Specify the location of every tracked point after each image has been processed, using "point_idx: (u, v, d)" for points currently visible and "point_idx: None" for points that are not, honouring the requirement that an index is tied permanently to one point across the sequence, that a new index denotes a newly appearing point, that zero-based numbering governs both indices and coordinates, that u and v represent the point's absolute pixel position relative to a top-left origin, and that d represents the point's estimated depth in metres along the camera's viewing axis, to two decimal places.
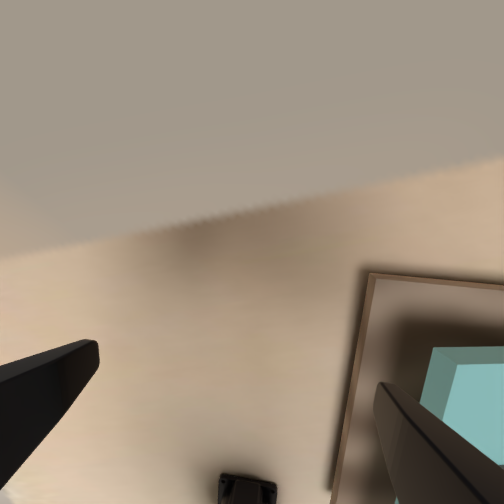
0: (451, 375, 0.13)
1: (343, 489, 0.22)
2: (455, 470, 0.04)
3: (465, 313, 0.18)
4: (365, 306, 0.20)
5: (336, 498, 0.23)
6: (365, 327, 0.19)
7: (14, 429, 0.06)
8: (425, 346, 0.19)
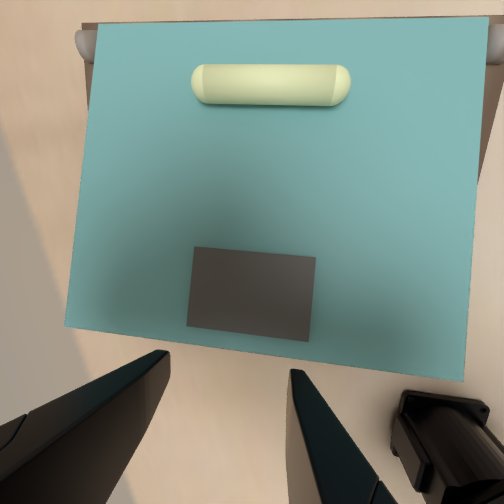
0: None
1: None
2: (307, 444, 0.05)
3: None
4: None
5: None
6: None
7: (112, 448, 0.05)
8: None
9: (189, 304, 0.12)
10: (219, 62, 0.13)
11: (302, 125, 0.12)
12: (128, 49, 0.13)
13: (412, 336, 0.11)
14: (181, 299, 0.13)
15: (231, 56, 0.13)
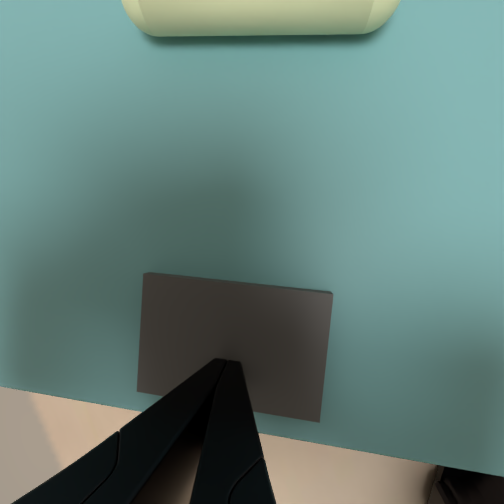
0: None
1: None
2: (209, 426, 0.05)
3: None
4: None
5: None
6: None
7: (193, 464, 0.05)
8: None
9: (139, 360, 0.08)
10: None
11: (313, 72, 0.07)
12: None
13: (482, 416, 0.07)
14: (130, 349, 0.09)
15: None
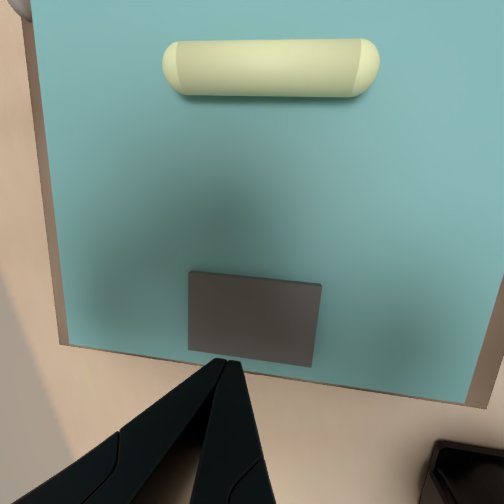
0: None
1: None
2: (209, 426, 0.05)
3: None
4: None
5: (416, 396, 0.13)
6: None
7: (193, 464, 0.05)
8: None
9: (188, 330, 0.12)
10: (199, 27, 0.09)
11: (311, 122, 0.10)
12: (74, 8, 0.10)
13: (419, 362, 0.11)
14: (180, 322, 0.12)
15: (215, 17, 0.09)
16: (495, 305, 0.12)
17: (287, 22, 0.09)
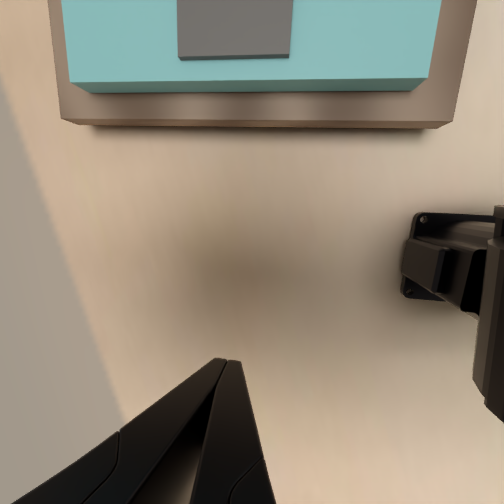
0: (83, 83, 0.15)
1: (367, 112, 0.14)
2: (209, 426, 0.05)
3: None
4: (108, 123, 0.18)
5: (389, 121, 0.14)
6: (119, 120, 0.17)
7: (193, 464, 0.05)
8: None
9: (178, 32, 0.13)
10: None
11: None
12: None
13: (385, 38, 0.12)
14: (170, 35, 0.13)
15: None
16: (456, 2, 0.13)
17: None
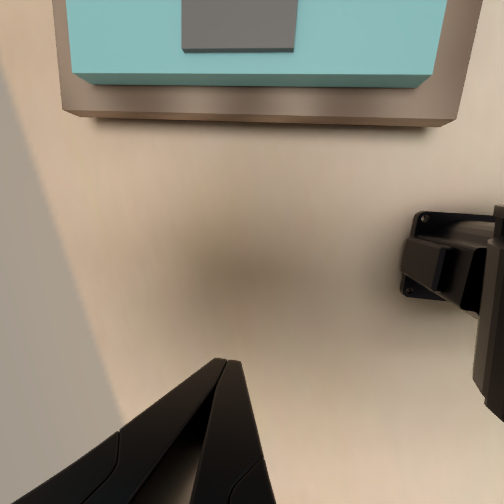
0: (85, 74, 0.15)
1: (370, 108, 0.14)
2: (209, 427, 0.05)
3: None
4: (110, 116, 0.18)
5: (393, 118, 0.14)
6: (121, 113, 0.17)
7: (193, 464, 0.05)
8: None
9: (182, 24, 0.13)
10: None
11: None
12: None
13: (391, 34, 0.12)
14: (174, 27, 0.13)
15: None
16: None
17: None
